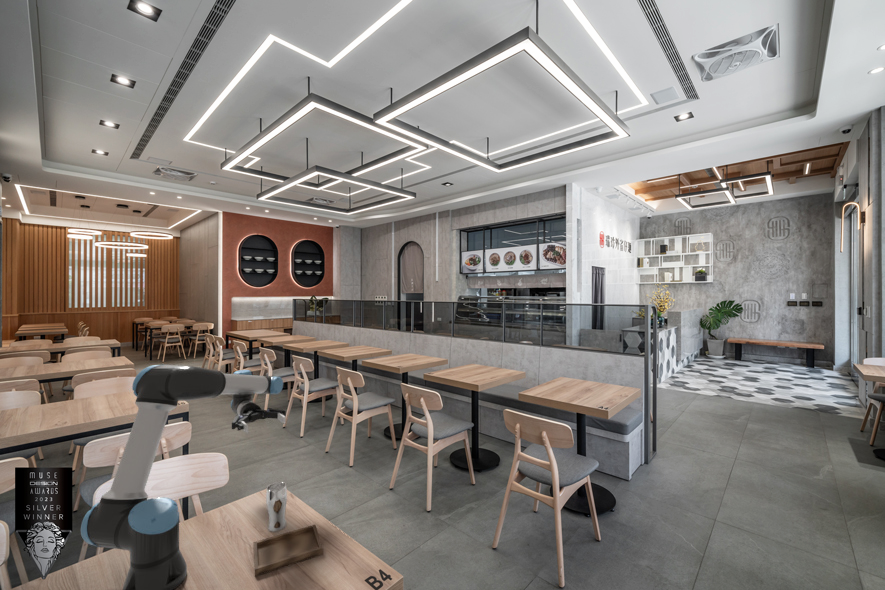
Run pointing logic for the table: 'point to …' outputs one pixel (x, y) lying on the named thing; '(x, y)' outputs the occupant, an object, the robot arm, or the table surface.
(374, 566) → the table surface
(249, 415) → the robot arm
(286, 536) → the walnut tray
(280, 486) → the silver metal cup
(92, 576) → the table surface
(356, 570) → the table surface
